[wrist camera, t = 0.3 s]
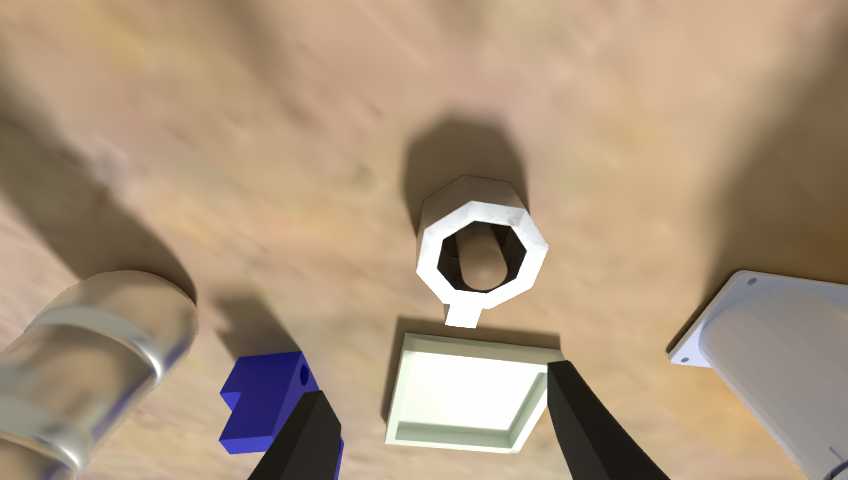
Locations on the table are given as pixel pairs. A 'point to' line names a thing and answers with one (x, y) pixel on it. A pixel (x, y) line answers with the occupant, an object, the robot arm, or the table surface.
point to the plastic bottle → (87, 370)
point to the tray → (467, 393)
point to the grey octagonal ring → (443, 271)
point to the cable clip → (264, 400)
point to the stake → (480, 256)
